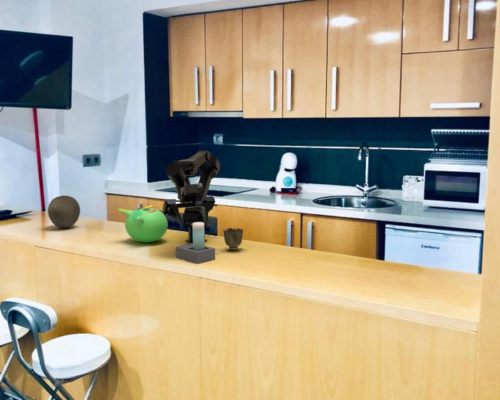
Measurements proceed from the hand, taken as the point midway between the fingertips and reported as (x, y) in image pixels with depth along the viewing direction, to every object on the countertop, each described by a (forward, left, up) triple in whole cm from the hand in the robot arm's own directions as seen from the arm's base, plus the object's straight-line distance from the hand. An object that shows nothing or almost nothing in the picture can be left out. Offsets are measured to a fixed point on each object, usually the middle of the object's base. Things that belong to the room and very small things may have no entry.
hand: (194, 224), depth 190 cm
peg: (+4, -2, -12) cm, 13 cm away
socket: (+2, -2, -12) cm, 12 cm away
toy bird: (-33, +2, -12) cm, 35 cm away
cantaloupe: (-83, -7, -12) cm, 84 cm away
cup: (+3, +16, -12) cm, 20 cm away
